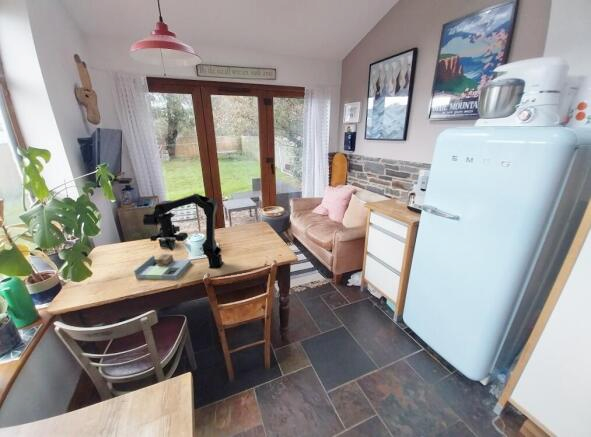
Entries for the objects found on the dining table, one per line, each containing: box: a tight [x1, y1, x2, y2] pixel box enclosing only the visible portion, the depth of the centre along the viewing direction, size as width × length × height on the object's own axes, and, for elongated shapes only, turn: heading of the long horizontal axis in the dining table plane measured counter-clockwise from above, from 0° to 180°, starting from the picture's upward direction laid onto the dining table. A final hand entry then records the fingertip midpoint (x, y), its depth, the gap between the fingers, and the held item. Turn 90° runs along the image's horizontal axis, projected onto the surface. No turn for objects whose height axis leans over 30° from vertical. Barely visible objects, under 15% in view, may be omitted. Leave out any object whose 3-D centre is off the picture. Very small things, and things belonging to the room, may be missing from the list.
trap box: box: [133, 254, 192, 280], centre depth 136 cm, size 23×16×5 cm
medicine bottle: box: [157, 229, 168, 249], centre depth 164 cm, size 7×7×12 cm
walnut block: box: [155, 253, 174, 266], centre depth 139 cm, size 6×6×4 cm
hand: (172, 250), depth 136 cm, fingers closed
